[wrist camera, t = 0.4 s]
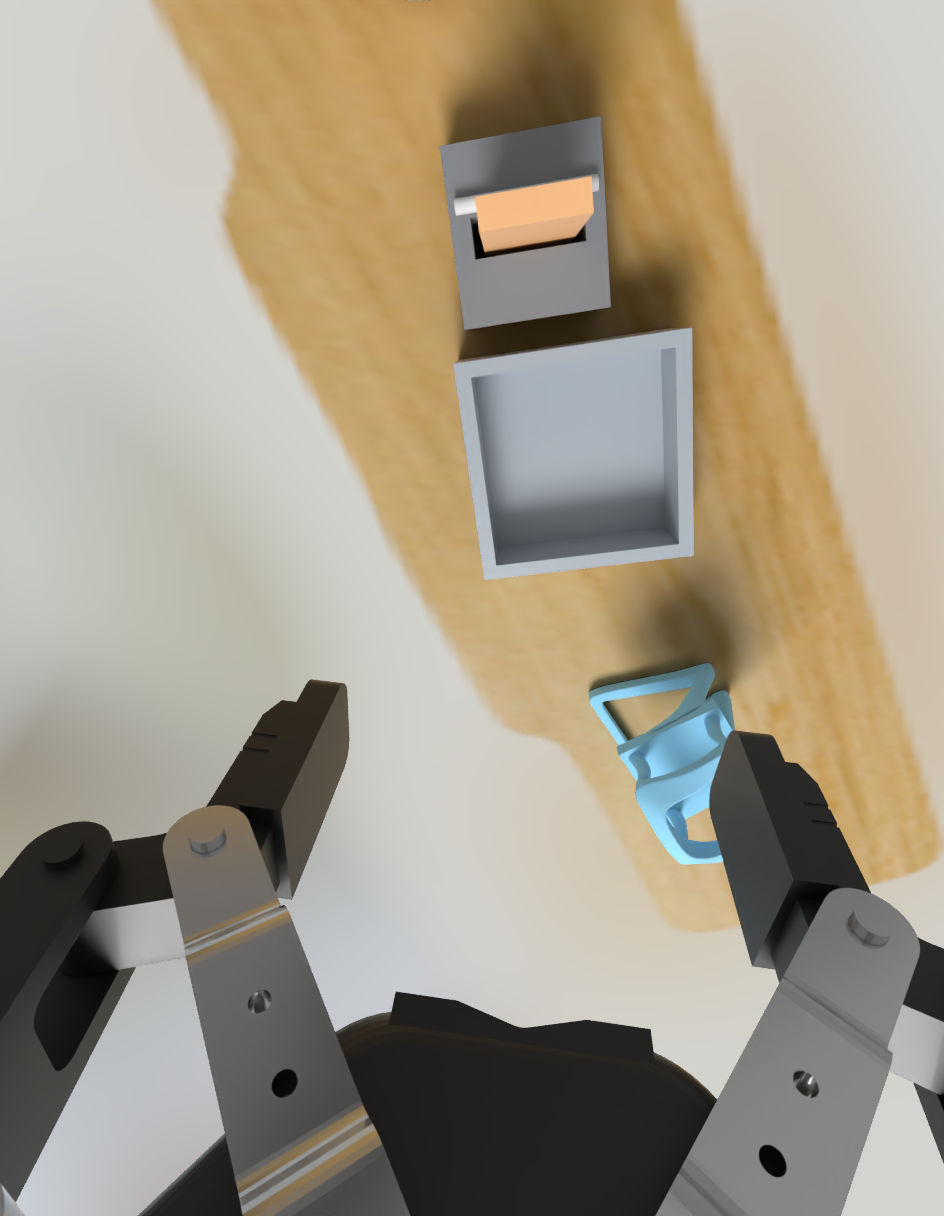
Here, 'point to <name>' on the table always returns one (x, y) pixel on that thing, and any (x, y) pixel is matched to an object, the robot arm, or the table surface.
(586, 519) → the tray
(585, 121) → the ticket dispenser
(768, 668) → the table surface
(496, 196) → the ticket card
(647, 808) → the chair
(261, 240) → the table surface
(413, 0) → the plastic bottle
